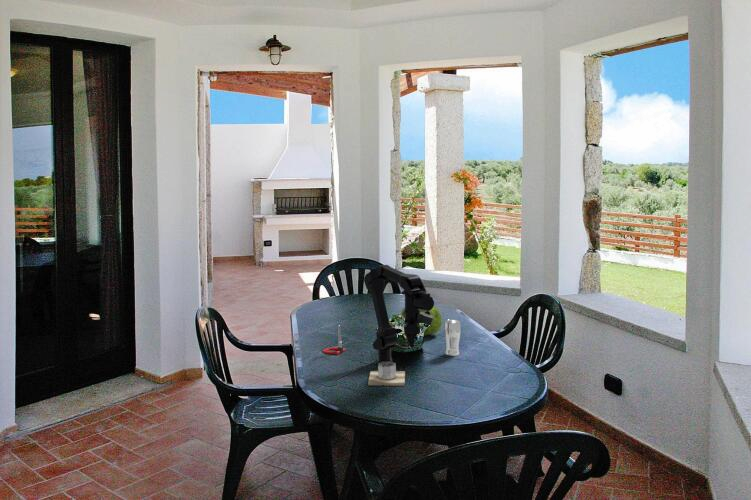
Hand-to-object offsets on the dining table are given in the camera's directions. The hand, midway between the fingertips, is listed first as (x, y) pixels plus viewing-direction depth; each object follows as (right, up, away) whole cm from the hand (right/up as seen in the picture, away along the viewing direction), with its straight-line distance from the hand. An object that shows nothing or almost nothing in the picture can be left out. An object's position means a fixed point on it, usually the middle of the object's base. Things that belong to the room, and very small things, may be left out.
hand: (412, 344), depth 247 cm
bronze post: (-10, -13, -6) cm, 18 cm away
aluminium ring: (-10, -12, -6) cm, 17 cm away
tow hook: (-34, -9, +32) cm, 48 cm away
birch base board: (-10, -13, -6) cm, 18 cm away
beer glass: (+20, -9, +26) cm, 34 cm away
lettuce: (+7, -5, +60) cm, 60 cm away
